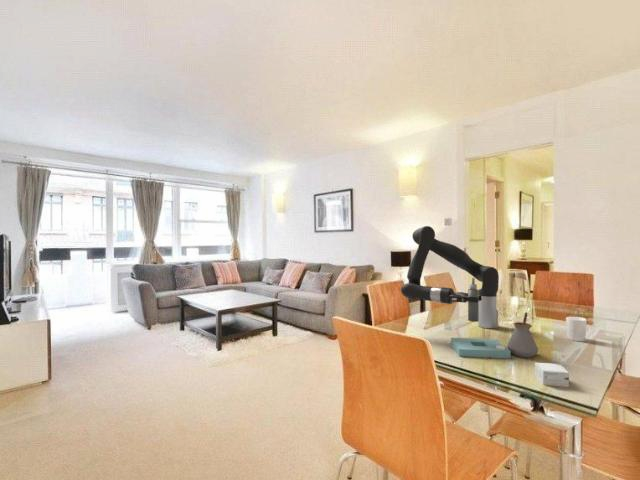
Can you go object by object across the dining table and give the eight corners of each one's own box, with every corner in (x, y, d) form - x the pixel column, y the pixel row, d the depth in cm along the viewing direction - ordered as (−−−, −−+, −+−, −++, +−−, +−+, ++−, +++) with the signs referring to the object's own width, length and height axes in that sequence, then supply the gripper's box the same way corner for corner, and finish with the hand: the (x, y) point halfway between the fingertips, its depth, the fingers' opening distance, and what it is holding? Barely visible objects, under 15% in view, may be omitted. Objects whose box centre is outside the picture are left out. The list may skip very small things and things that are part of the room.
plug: (477, 319, 154) (477, 277, 154) (479, 321, 150) (479, 278, 150) (467, 319, 155) (466, 277, 155) (469, 321, 151) (469, 278, 150)
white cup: (582, 337, 163) (582, 317, 163) (589, 342, 155) (589, 321, 155) (563, 336, 165) (563, 316, 165) (569, 341, 158) (569, 320, 158)
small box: (542, 385, 113) (542, 370, 113) (534, 376, 121) (534, 361, 121) (569, 387, 111) (569, 372, 111) (559, 378, 119) (559, 363, 119)
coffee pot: (537, 361, 134) (536, 324, 134) (504, 355, 141) (504, 320, 141) (541, 346, 151) (541, 313, 151) (512, 342, 158) (512, 310, 158)
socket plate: (496, 345, 153) (496, 336, 153) (510, 358, 138) (510, 348, 138) (450, 343, 157) (450, 335, 157) (459, 356, 141) (459, 346, 141)
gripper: (436, 289, 156) (475, 293, 145) (447, 285, 167) (484, 288, 156) (436, 305, 156) (475, 310, 145) (447, 300, 167) (484, 304, 156)
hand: (479, 299), depth 150 cm, fingers closed on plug, 4 cm apart
